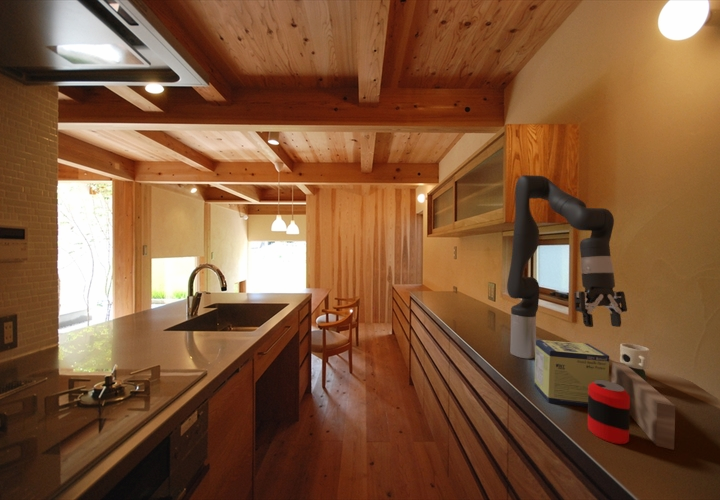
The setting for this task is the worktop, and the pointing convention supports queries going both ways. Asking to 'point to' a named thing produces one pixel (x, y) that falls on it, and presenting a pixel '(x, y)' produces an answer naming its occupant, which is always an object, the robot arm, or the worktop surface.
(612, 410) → the soda can
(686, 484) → the worktop surface
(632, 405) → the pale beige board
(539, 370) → the protein box
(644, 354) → the character mug
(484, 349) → the worktop surface
